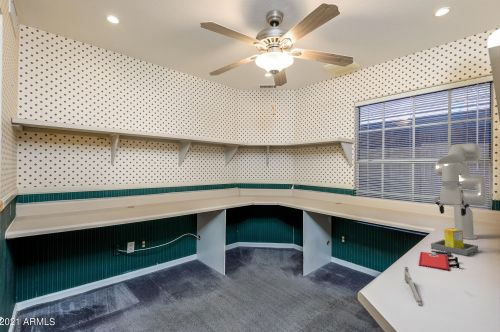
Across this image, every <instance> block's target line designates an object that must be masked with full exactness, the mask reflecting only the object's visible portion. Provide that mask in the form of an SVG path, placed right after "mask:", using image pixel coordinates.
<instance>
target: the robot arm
mask: <svg viewBox="0 0 500 332" xmlns="http://www.w3.org/2000/svg"><path fill="white" fill-rule="evenodd" d="M482 155H483V154H482V150H481V147H480V146H479V145H478V144H477V143H475V142H470V143H469V142H467V143H458V144H453V145H451V146H450V147H449V150H448V153H447V155H444V156H441V157H440V158H439V159H438V160H436V162H435V165H434V168H433V169H434V174H435V175H437V176H440V177H441V179H442V180H441V182H442V186H441V187H440V192H439V193H440V194H439V196H438V197H436V198H433V201H434V202H435V204H436V205H437V206H438V207H439V213H440V214H442V215H443V214H445V207H444V205H451V206H453V214H454V216H453V217H454V228H455V229H459V230H462V231H463V240H465V239H467V240H477V239H478V236H477V235H475V233H474V214H473V210H472V209H471V208H470V206H485V205H487V202H488V201H487V200H488V197H487V181H486V178H485V176H484V175H481V174H471V168H470V166H469V165H468V164H466V163H465V162H477V161H478V162H479V161H480V160H481V159H482V158H483V157H482ZM466 189H467V190H466Z"/></svg>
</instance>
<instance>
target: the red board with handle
mask: <svg viewBox="0 0 500 332" xmlns="http://www.w3.org/2000/svg"><path fill="white" fill-rule="evenodd" d="M452 254H453V253H449V252H444V251H440V250H434V249H431V252H427V251H426V252H425V251H420V254H419V261H418V267H422V268H423V267H425V268H430V269H435V270H440V271H447V272H450V269H451V268H453V267H456V269H457V268H459V270H460V267H461V266H460V262H459V257H458V256H455V257H454V258H449V257H452V256H453V255H452ZM449 262H455V263H449Z"/></svg>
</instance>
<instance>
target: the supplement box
mask: <svg viewBox="0 0 500 332" xmlns="http://www.w3.org/2000/svg"><path fill="white" fill-rule="evenodd" d="M443 230H444V240H445V246H449V247H454V248H459V249H464V245H463V243H464V238H463V231H462V230H459V229H455V227H454V228H443Z"/></svg>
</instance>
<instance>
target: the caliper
mask: <svg viewBox="0 0 500 332" xmlns="http://www.w3.org/2000/svg"><path fill="white" fill-rule="evenodd" d="M403 275H404V281H405V283H406V284H408V285H409V287H410V289H411V292H412V294H413V297H414V300H415V302H416V304H417V303H418V304H417V305H418V306H420V305H421V306H422V307H423V304H422V302H421V298H420V296H419V294H418V291H417V289H416V287H415V285H414V282H413V280H412V279H413V278H412V276H411V274H410V272H409V268H408V266H404V273H403Z"/></svg>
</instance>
